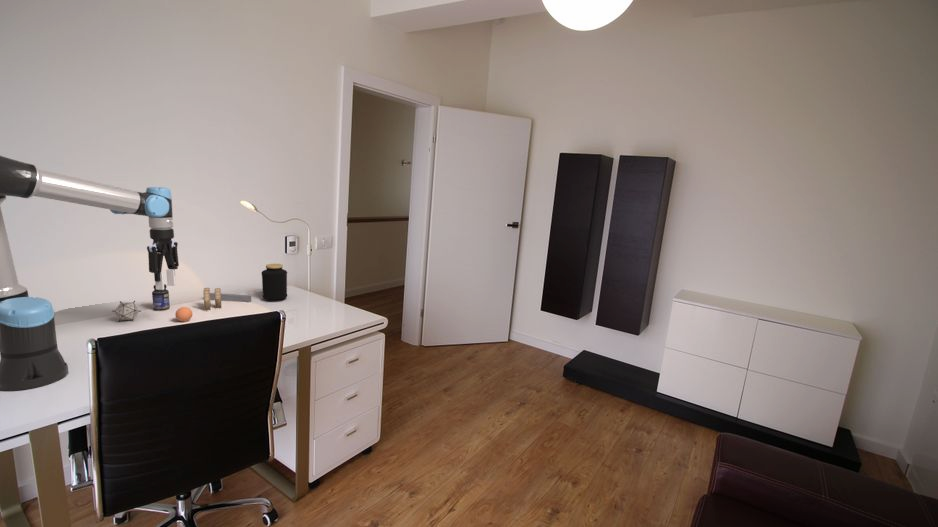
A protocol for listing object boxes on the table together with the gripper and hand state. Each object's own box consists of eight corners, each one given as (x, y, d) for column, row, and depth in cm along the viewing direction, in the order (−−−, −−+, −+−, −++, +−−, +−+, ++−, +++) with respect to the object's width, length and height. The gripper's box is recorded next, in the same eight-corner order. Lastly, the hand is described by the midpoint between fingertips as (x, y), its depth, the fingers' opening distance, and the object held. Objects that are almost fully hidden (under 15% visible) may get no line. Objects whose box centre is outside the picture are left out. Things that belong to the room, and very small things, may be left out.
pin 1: (208, 308, 201) (207, 289, 200) (203, 307, 201) (202, 288, 200) (211, 306, 204) (210, 287, 202) (206, 306, 204) (205, 287, 202)
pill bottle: (167, 310, 195) (166, 286, 193) (151, 311, 192) (149, 287, 190) (171, 306, 200) (169, 283, 198) (155, 307, 198) (153, 283, 196)
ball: (186, 323, 180) (186, 309, 178) (172, 322, 180) (171, 308, 178) (196, 319, 185) (195, 305, 184) (182, 318, 185) (181, 304, 184)
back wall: (249, 302, 214) (249, 296, 213) (204, 299, 214) (204, 293, 213) (251, 301, 216) (251, 295, 215) (207, 298, 216) (206, 292, 215)
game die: (129, 330, 179) (121, 316, 172) (112, 321, 180) (103, 306, 173) (148, 315, 185) (141, 301, 178) (132, 306, 186) (124, 291, 179)
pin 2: (219, 308, 201) (218, 289, 200) (214, 308, 201) (213, 289, 200) (222, 307, 204) (221, 288, 202) (217, 306, 204) (216, 288, 202)
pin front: (208, 311, 197) (207, 291, 195) (203, 310, 197) (202, 291, 195) (211, 309, 199) (210, 290, 198) (206, 309, 199) (205, 290, 198)
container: (259, 297, 222) (258, 263, 219) (283, 295, 229) (284, 262, 226) (264, 304, 213) (264, 268, 209) (290, 301, 220) (290, 266, 216)
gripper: (153, 231, 157) (158, 293, 161) (187, 226, 175) (190, 282, 179) (132, 230, 157) (138, 292, 161) (168, 225, 175) (172, 281, 179)
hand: (165, 287), depth 170 cm, fingers open, 6 cm apart
